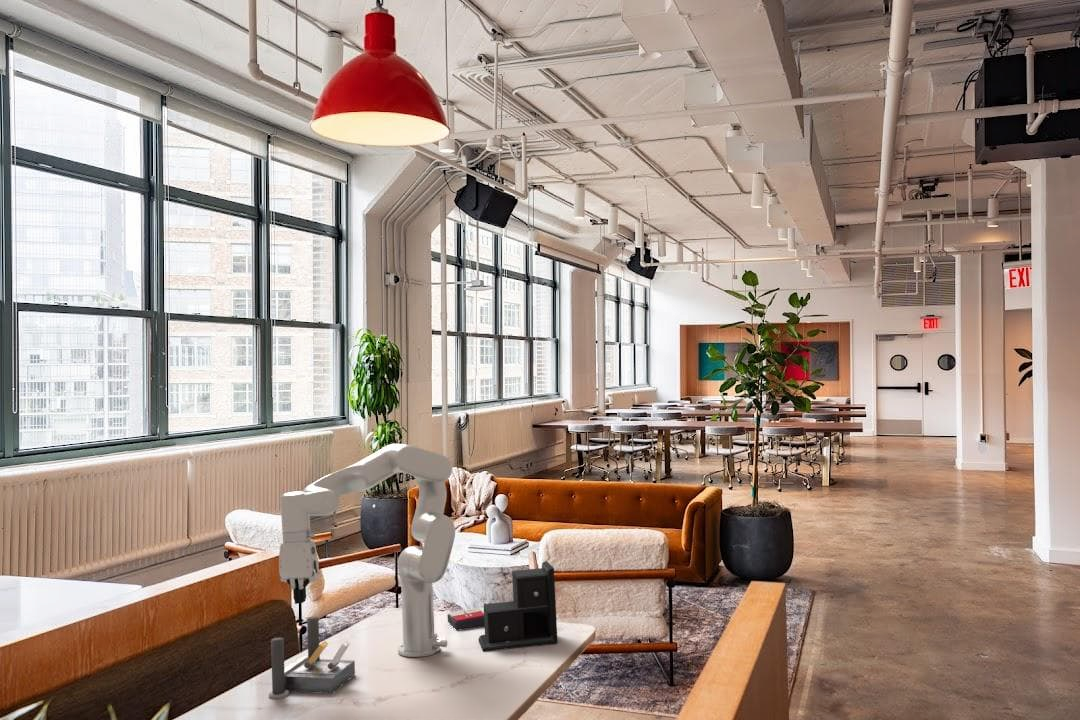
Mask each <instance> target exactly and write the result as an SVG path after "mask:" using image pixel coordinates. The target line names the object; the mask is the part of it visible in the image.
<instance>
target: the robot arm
mask: <svg viewBox="0 0 1080 720" xmlns="http://www.w3.org/2000/svg"><path fill="white" fill-rule="evenodd" d="M398 473H401V474H407V475H410V476H412V477H413V478H414V479H415V481H416V482H417V486H418V491H419V492H418V493H419V494H418V500H417V504H416V508H415V512H414V515H413V518H412V522H411V527H410V533H411V534H410V535H411V536H412V537H413V539H414V540H416V541H417V542H420V543H424V544H423V547H422V546H419V545H412V546H411V545H410V546H408V547H406V548H404V549H403V550H402V551H401V552H400V554H399V556H398V560H397V570H398V575H399V579H400V587H401V614H402V617H401V618H402V619H401V620H402V644H401V645H400V646H399V647H397V648H398V649H397V653H398V654H399V655H401V656H402V657H407V658H408V657H409V658H420V657H421V658H423V657H427V656H431V655H434V654H436V653H438V652H439V651H440V650H441V648H447V647H448V644H449V643H448V640H447V639H446V638H439V637H438V633H435V616H434V615H435V613H434V609H435V608H434V588H433V584H434V583H437V582H439V581H440V580H441V579H442V578H443V577H444V575H445V574H446V571H447V569H448V566H449V561H450V558H451V554H452V550H453V546H454V542H455V538H456V526H455V524H454V522H453V520H452V518H451V517H449V516H447V515H445V514H444V513H445V508H446V503H447V495H448V494H447V493H448V491H447V486H446V483H445V481H447V480H448V479H449V478H450V477H451V475H452V473H453V463H452V462H451V460H450V459H449V457H448V456H446V455H443V454H441V453H438V452H434V451H431V450H428V449H424V448H421V447H419V446H414V445H413V444H412V445H411V444H405V443H391V444H388V445H386V446H384V447H382V448H381V449H379V450H378V451H376V452H374V453H372V454H370V455H369V456H367V457H364V458H363V459H361V460H359V461H358V462H355V463H354V464H352V465H349V466H347V467H344V468H342V469H340V470H337V471H334V472H331V473H330V474H328V475H325V476H323V477H322V478H320V479H318V480H316V481H315V482H313V483H311V484H309V485H307V486H306V487H305V488H303V490H300V491H299V490H298V491H290V492H285V493H283V494H282V495H281V497H280V514H281V515H280V516H281V531H282V532H281V533H282V534H281V535H282V542H281V543H280V545H279V554H278V572H279V573H278V574H279V576H280V580H279V581H280V582H282V583H283V582H284V583H286V584H288V585H289V586H290V588H291V590H292V591H293V592H292V593H293V594H292V595H293V600H294V604H295V605H298V604H299V605H301V604H303V603H304V602H306V599H307V588H306V587H308V586H309V584H311V583H314V582H316V581H318V579H319V578H318V574H319V571H320V570H319V569H320V568H319V567H320V566H319V565H320V564H319V558H318V552H317V547H316V543H315V540H314V539H312V538H314V537H315V531H314V532H313V531H312V529H311V518H310V517H314V516H316V517H317V516H318V517H319V516H320V517H321V516H329V515H331V514H333V513H334V512H336V510H338V508H339V505H340V498H339V497H342V496H345V495H348V494H352V493H359V492H360V493H361V492H364V491H365V492H366V491H368V490H370V489H372V488H373V487H376V486H377V485H378V484H380V483H382V482H384V481H386V480H387V479H388V478H390V477H392V476H394V475H396V474H398Z"/></svg>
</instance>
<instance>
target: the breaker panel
mask: <svg viewBox="0 0 1080 720" xmlns="http://www.w3.org/2000/svg"><path fill="white" fill-rule="evenodd" d="M308 660H309V659H308V656H301V657H300V658H298V659H297V660H296V661H294V662H292V663H291V664H290V665H288V666H286V667H284V671H285V689H287V690H288V691H289V692H293V693H295V691H296V693H313V692H318V693H317V694H319V692H321V693H320V694H334V693H335V692H336V691H338V690H339V689H340V688H341V687H342V686H343V685H345V684H346V683H347V682H348V681H349V680H350V679H349V678H351V677H352V676H353V675H354V674H355V675H356V667H355V666H356V663H355V660H348V659H347V660H346V659H345V660H344V659H340V660H339V664H338V665H336V666H335V667H334V668H332V669H329V668H328V664H329V663H331V661H332V659H326V658H325V659H323V658H320V659H317V660H316V662H315V663H314V664H313V665H312V666H310V667H309V668H305V666H304V664H305V663H306V662H307V661H308ZM355 675H354V676H355ZM354 676H353V677H354ZM353 677H352V678H353ZM352 678H351V679H352ZM348 679H349V680H348ZM347 680H348V681H347ZM346 681H347V682H346ZM345 682H346V683H345ZM344 683H345V684H344ZM342 684H343V685H342ZM341 685H342V686H341ZM340 686H341V687H340ZM339 687H340V688H339ZM338 688H339V689H338ZM334 691H335V692H334ZM333 692H334V693H333Z"/></svg>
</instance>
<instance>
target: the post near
mask: <svg viewBox="0 0 1080 720" xmlns="http://www.w3.org/2000/svg"><path fill="white" fill-rule="evenodd" d="M284 641H285V639H284V638H283V637H274V638H271V640H270V653H271V655H270V657H271V683H272V684H271V685H272V687H271V688H272V689H271V691H269V693H268V697H269V699H272V700H278V699H283V698H286V697H288V696H289V694H290V691H288V690H287V689H285V671H284V669H285V649H284V648H285V645H284Z"/></svg>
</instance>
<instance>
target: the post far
mask: <svg viewBox="0 0 1080 720" xmlns="http://www.w3.org/2000/svg"><path fill="white" fill-rule="evenodd" d="M319 621H320V620H319V616H313V615H312V616H309V617H307V618H306V623H307V624H306V626H307V657H308V659H310V657H311V656H312V655H313V653H314V652H315V651H316V649H317V648H318V647H319V645H320V622H319ZM320 656H321V655H320ZM320 656H319V657H318V658H317V659H321V658H320Z"/></svg>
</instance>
